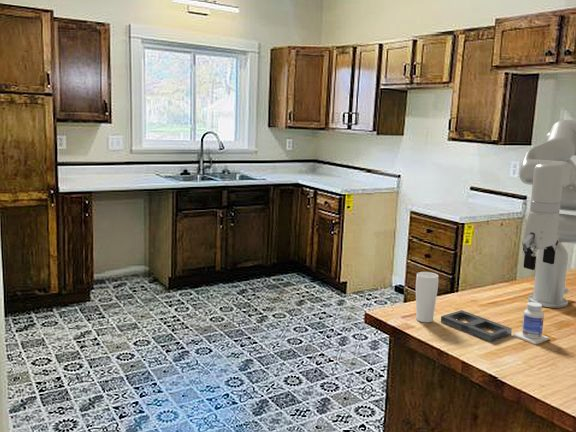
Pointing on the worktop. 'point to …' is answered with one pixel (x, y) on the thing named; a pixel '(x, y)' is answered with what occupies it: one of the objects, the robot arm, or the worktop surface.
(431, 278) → the drinking glass
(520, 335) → the tile
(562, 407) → the worktop surface
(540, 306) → the pill bottle
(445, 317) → the grey double square frame
